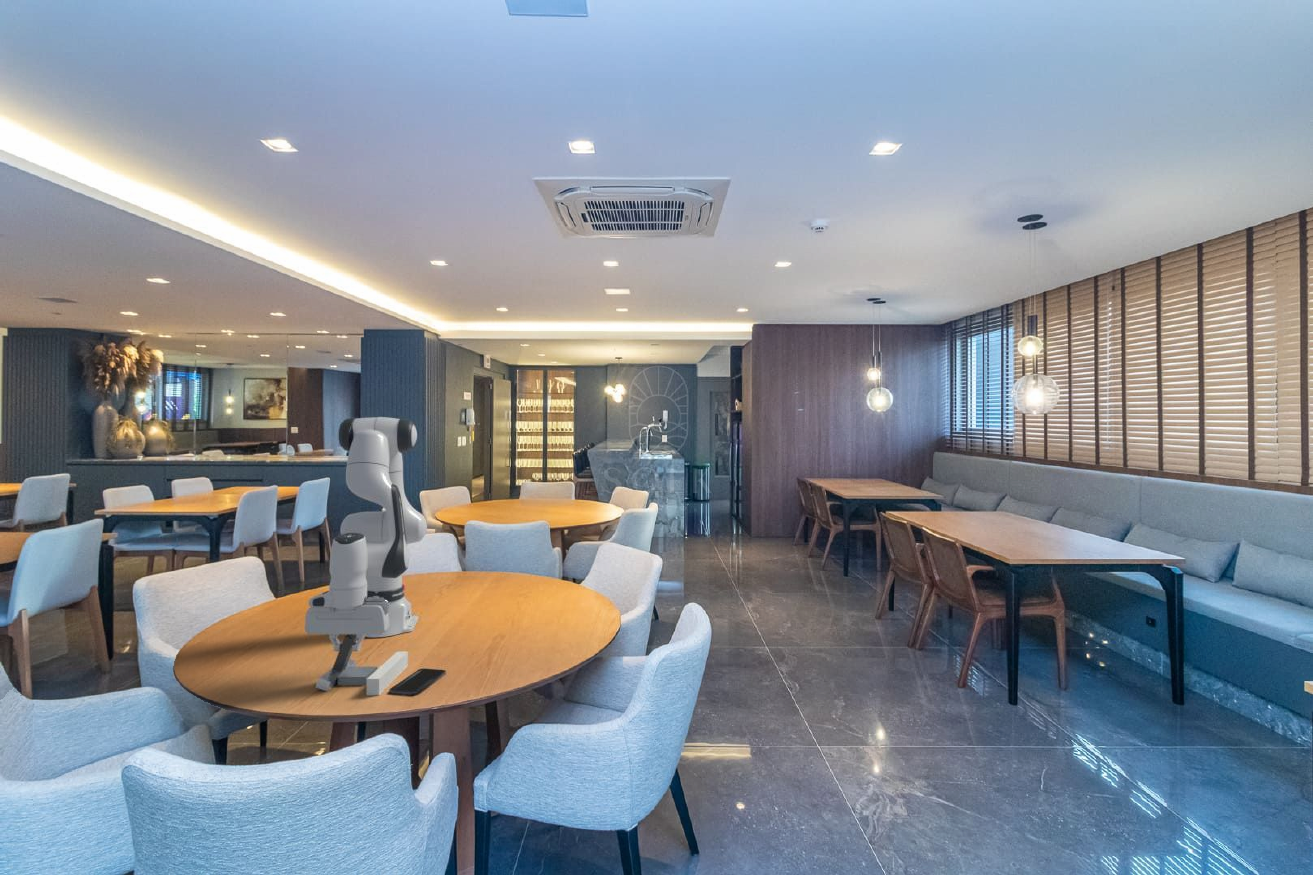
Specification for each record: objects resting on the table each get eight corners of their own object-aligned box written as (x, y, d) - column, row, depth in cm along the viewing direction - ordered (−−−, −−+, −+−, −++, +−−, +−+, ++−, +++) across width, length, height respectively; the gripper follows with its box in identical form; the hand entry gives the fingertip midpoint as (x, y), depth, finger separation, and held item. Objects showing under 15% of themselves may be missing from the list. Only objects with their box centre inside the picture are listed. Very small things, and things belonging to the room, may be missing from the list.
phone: (387, 690, 147) (420, 667, 162) (387, 695, 147) (420, 672, 162) (416, 693, 146) (447, 670, 160) (416, 697, 146) (447, 674, 160)
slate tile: (350, 675, 158) (350, 666, 158) (377, 675, 158) (377, 666, 159) (337, 686, 151) (337, 676, 151) (365, 686, 151) (365, 676, 152)
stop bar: (396, 666, 165) (396, 651, 165) (407, 666, 165) (407, 651, 165) (366, 695, 146) (366, 678, 146) (378, 695, 146) (379, 678, 146)
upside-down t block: (342, 665, 161) (358, 625, 162) (353, 669, 162) (369, 629, 162) (315, 687, 147) (332, 643, 148) (327, 691, 148) (344, 647, 148)
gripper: (393, 594, 158) (392, 646, 158) (315, 593, 158) (314, 646, 157) (384, 600, 152) (383, 654, 152) (301, 600, 151) (300, 654, 151)
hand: (347, 650), depth 155 cm, fingers closed on upside-down t block, 3 cm apart
